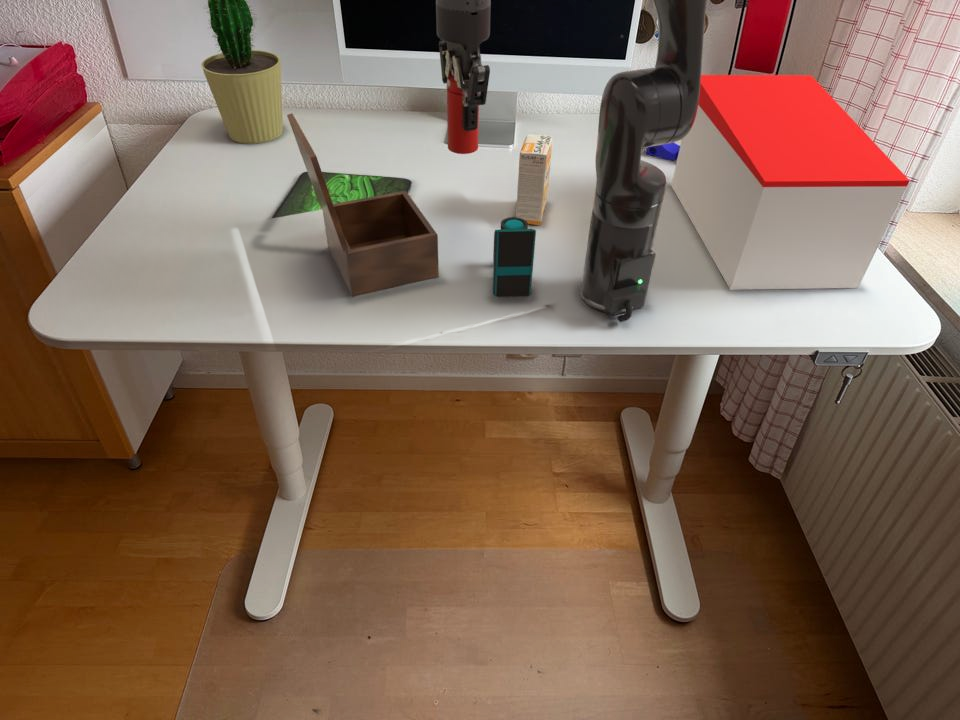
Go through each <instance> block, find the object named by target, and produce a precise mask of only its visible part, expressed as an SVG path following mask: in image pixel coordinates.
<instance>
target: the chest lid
mask: <svg viewBox="0 0 960 720" xmlns="http://www.w3.org/2000/svg"><path fill="white" fill-rule="evenodd" d="M286 117H287V119H288V122H289V125H290V127H291V131H292V134H293V136H294V138H295V142H296V144H297V147H298V150H299V153H300V155H301V158H302V161H303V164H304V166H305V169H306V172H308V175H309V178H310V180H311V183H312V186H313V189H314V191H315V194H316V197H317V200H318V202H319V205H320V207H321V209H322V210H321V211H322V214H323V213H324V215H325V217H326V219H327V221H328V222H329V224H330V226H331V228H332V230H333V232H334V234H335V236H336V238H337V240H338V242H339V244H340V246H341V248H342V250H343V251H346V250H348V246H347V244H346V241H345V238H344V235H343V232H342V229H341V226H340V223H339V220H338V217H337V215H336V212H335V209H334V206H333V203H332V200H331V197H330V194H329V191H328V188H327V186H326V183H325V180H324V177H323V174H322V172H323V171H322V169H321V166H320V161H319V160H318V157H317V154H316V153H315V151H314V149H313V147H312V146H311V144H310V142H309V141H308V138H307V136H306V134H305V133H304V132H303V129H302V128H301V126H300V124H299V122H298V121H297V119H296V117H295V115H294V114H293V113H288V114H286Z"/></svg>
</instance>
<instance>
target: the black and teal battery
mask: <svg viewBox="0 0 960 720" xmlns="http://www.w3.org/2000/svg"><path fill="white" fill-rule="evenodd" d="M499 228H500V229H495V230H494V233H493V252H492V253H493V254H492V256H493V257H492V259H493V262H492V263H493V271H492V272H493V273H492V274H493V275H492V293H493V294H492V295H493V296H494V297H497V298H505V297H506V298H507V297H529V296H531V293H532V281H533V271H534V270H533V269H534V260H535V258H534V257H535V248H536V236H537V235H536V234H537V230H536V229H535V228H529V224H528V223H527V221H525V220H524V219H522V218H518V217H516V216H510V217H509V216H508V217H505V218H503V219H502V220H501V221H500V227H499Z"/></svg>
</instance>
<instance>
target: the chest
mask: <svg viewBox="0 0 960 720" xmlns="http://www.w3.org/2000/svg"><path fill="white" fill-rule="evenodd" d="M333 206H334V209H335V212H336V215H337V217H338V220H339V223H340V226H341V229H342V232H343V235H344V238H345V241H346V244H347V246H348V250H346V251H343V250H342V248H341V246H340V244H339V242H338V240H337V238H336V236H335V234H334V232H333V230H332V228H331V226H330V224H329V222H328V221H327V219H326V217H325V215H324V213H323V212H322V215H323V223H324V229H325V235H326V242H327V249H328V250H329V252H330V254H331V256H332V258H333V260H334V262H335V264H336V267H337V269H338V271H339V273H340V275H341V277H342V279H343V281H344V283H345V286H346V287H347V289H348V291H349V294H350V295H351V297H352V298H353V297H358V296H362V295H366V294H369V293H375V292H379V291H384V290H388V289H393V288H397V287H403V286H406V285H411V284H415V283H419V282H424V281H429V280H432V279H437V278H439V277H440V275H439V274H440V273H439V272H440V271H439V270H440V268H439V241H438V240H439V236H438V233H437V231H436V230H435V229H434V228H433V226H432V224H430V222H429V221H428V219H427V218H426V216H425V215H424V214H423V212H422V211H421V209H420V208H419V207H418V205H417V204H416V203H415V201H414V200H413V198H411V195H410V194H409V192H408V193H407V192H406V191H401V192H396V193H390V194H385V195H379V196H374V197H368V198H362V199H357V200H351V201H346V202H340V203H335V204H333Z"/></svg>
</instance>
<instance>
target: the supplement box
mask: <svg viewBox="0 0 960 720" xmlns="http://www.w3.org/2000/svg"><path fill="white" fill-rule="evenodd" d="M553 140H554V137H553V136H552V135H544V134H534V133H533V134H532V133H527V134H526V136H525V139H524V141H523V144H522V146H521V149H520V150H519V159H518V176H517V191H516V192H517V194H516V206H515V207H516V208H515V217H518V218H522V219H524V220H525V221H527V223H528V225H534V226H535V225H536V226H541V225H542V222H543V217H544V211H545V209H546V207H547V201H548V194H549V193H548V191H549V182H550V172H551V162H552V152H553Z"/></svg>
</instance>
